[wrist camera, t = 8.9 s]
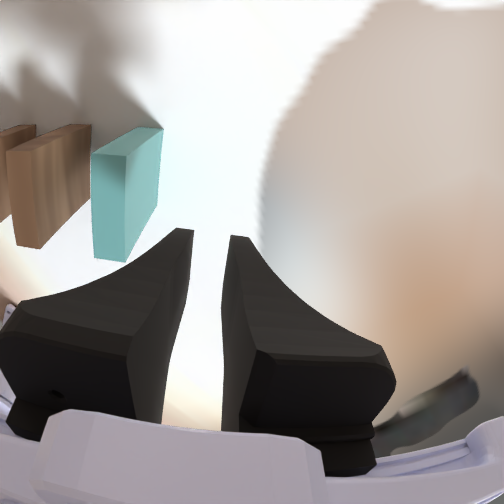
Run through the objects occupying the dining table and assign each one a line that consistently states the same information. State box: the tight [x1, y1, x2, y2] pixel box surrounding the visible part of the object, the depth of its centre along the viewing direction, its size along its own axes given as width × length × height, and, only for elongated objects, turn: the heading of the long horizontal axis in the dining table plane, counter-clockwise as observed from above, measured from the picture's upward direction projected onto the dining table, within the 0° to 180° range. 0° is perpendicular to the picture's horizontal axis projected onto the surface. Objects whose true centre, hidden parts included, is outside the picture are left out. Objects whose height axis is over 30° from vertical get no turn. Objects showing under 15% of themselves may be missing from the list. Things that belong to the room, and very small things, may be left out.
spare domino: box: [91, 127, 164, 262], centre depth 16 cm, size 2×5×7 cm, turn 170°
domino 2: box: [6, 124, 91, 249], centre depth 15 cm, size 2×5×7 cm, turn 170°
